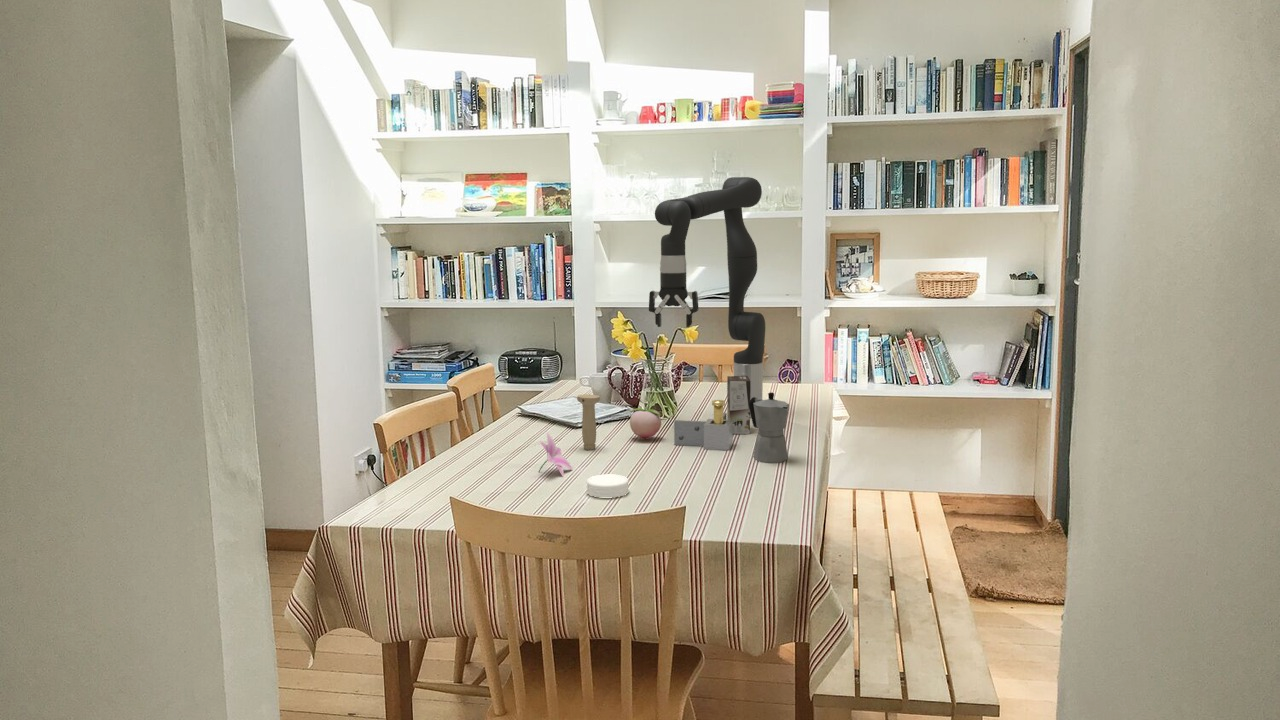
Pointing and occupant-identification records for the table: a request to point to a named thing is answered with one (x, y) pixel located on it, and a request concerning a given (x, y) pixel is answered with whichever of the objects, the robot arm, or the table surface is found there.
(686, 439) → the grey corner bracket
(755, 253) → the robot arm
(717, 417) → the hinge pin
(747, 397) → the coffee box
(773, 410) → the coffeepot
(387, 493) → the table surface
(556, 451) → the lily
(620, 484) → the white round disc
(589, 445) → the handle
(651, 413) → the decorative fruit
